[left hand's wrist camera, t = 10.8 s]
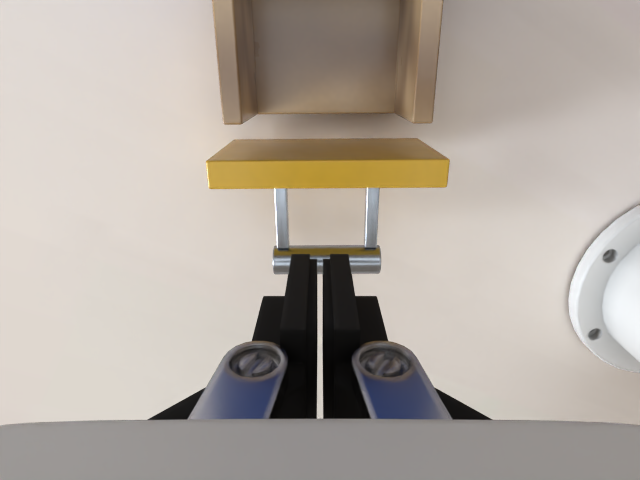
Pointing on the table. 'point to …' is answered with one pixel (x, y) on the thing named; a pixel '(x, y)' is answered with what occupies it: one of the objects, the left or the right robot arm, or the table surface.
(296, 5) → the drawer
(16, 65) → the table surface
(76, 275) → the table surface
